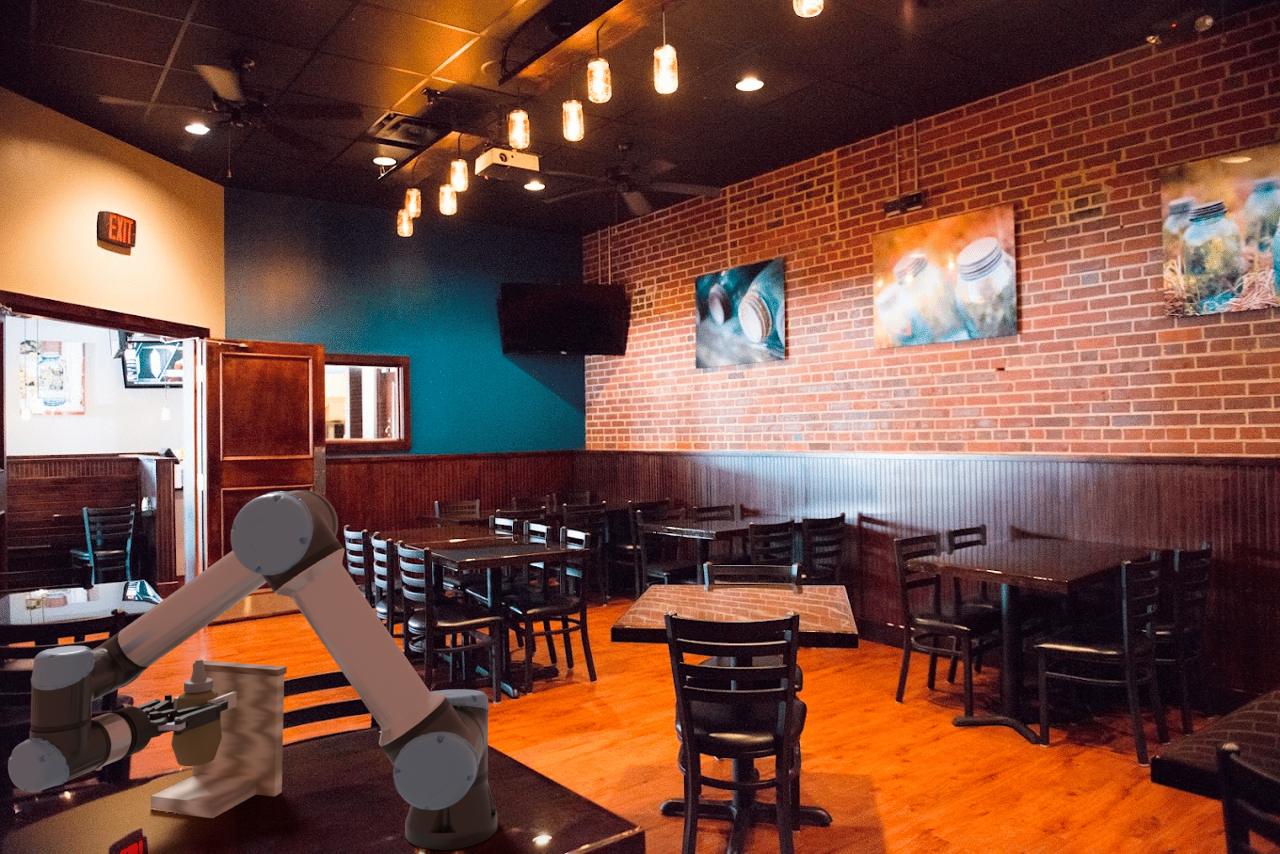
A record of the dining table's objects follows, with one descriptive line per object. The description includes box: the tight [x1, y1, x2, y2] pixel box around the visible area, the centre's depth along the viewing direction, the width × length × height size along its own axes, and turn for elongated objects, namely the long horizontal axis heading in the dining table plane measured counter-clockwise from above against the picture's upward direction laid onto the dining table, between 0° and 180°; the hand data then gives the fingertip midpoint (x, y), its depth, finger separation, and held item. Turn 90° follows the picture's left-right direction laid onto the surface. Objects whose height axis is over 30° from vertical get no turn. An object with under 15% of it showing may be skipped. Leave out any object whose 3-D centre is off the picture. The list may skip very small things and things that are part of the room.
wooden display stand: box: [150, 660, 288, 819], centre depth 157 cm, size 19×13×23 cm
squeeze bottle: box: [171, 659, 222, 767], centre depth 154 cm, size 8×8×18 cm
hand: (218, 697), depth 159 cm, fingers closed on squeeze bottle, 6 cm apart
